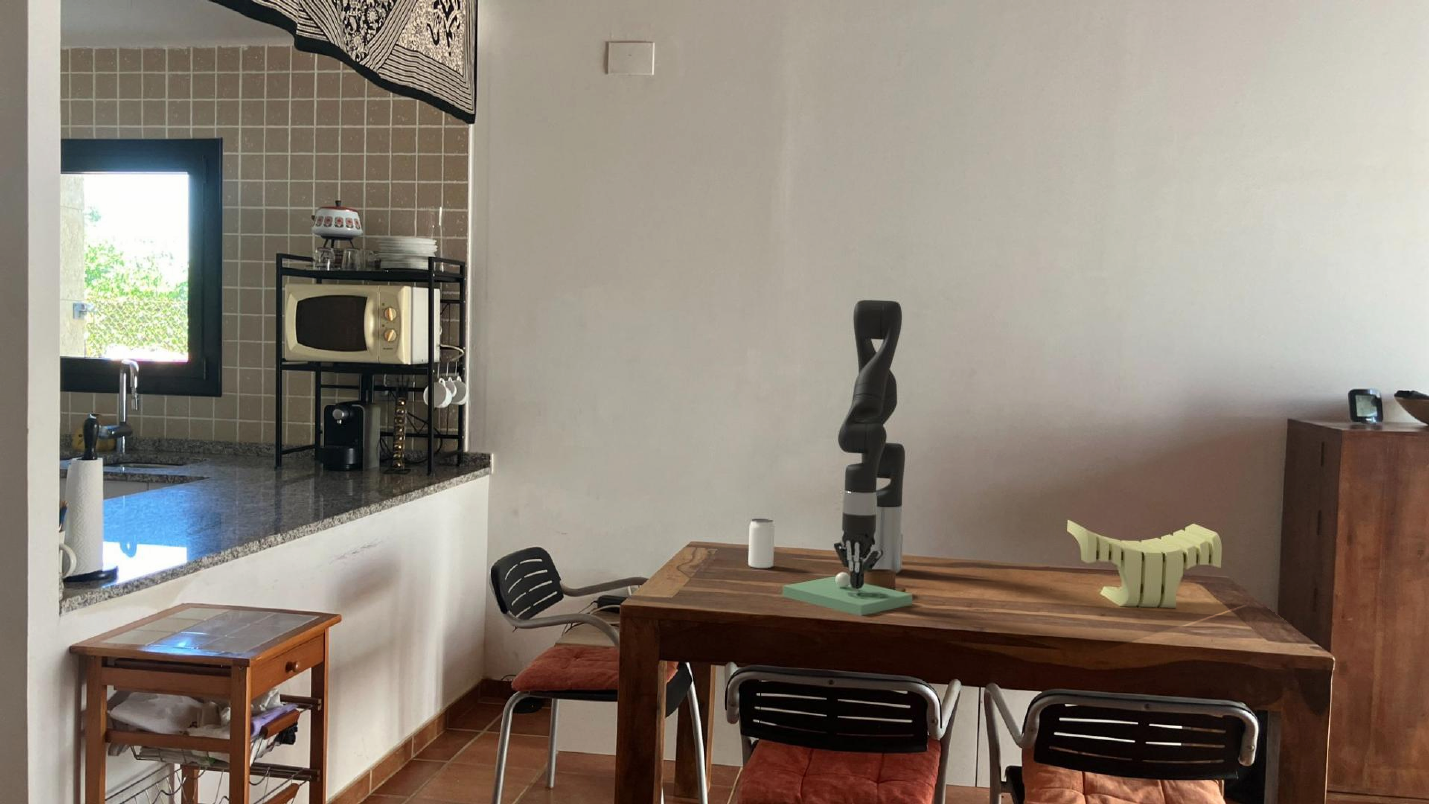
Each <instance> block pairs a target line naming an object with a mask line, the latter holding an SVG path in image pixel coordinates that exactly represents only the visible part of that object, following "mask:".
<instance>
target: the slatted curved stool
mask: <svg viewBox="0 0 1429 804" xmlns="http://www.w3.org/2000/svg"><path fill="white" fill-rule="evenodd" d="M1184 529H1185V530H1183V529H1180V530H1177V531H1174V532H1173V534H1166V535H1163V536H1161V537H1160V538H1159V537H1155V538H1151V539H1143V540H1141V541H1139V540H1125V539H1124V540H1123V539H1122V540H1119V539H1118V538H1110V537H1108V536H1104V535H1100V534H1097V533H1095V532H1093V531H1090V530H1088V529H1087V528H1085V527H1083V526H1081V525H1079V524H1078V523H1076V522H1074V521H1071V520H1070V519H1067V530H1066V531H1067V532H1068V533H1069V534H1071V535H1072V536H1073V537H1074V538H1075V539H1076V540H1077V542H1078V545H1079V548H1080V556H1081V557H1080V558H1081V559H1080V560H1081V561H1083V562H1084V563H1086V564H1091V563H1092V564H1093V563H1096V562H1097V561H1098V562H1107V563H1108V562H1111V563H1113V564H1114V565H1115V566H1116V567H1117V568H1116V569H1117V571H1118V574H1119V576H1120V580H1121V581H1120V582H1121V586H1119V587H1117V586H1106V585H1105V586H1103V588H1102V589H1101V591H1100V593H1099V594H1101V595H1102V596H1103V597H1105V598H1107V599H1108V600H1110V601H1111V602H1113V603H1114V604H1116V605H1118V606H1119V607H1135V608H1136V607H1137V606H1138V607H1139V608H1157V607H1159V608H1163V609H1164V608H1165V609H1167V608H1169V609H1176V608H1177V594H1178V593H1177V592H1178V588H1179V585H1180V582H1181V579H1182V578H1183V575H1184V569H1185V570H1189V569H1190V568H1192V567H1196V566H1197V565H1199V566H1203V565H1205V566H1209V565H1210V566H1212V567H1215V568H1218V569H1219V568H1220V569H1221V568H1222V553H1223V549H1222V548H1223V547H1222V540H1221V537H1220V536H1219V533H1217V532H1216V531H1213V530H1210V529H1208V528H1205V527H1204V526H1201V525H1199V524H1196V523H1192V524H1189V525H1188V526H1186V527H1185V528H1184Z"/></svg>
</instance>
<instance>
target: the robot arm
mask: <svg viewBox="0 0 1429 804" xmlns="http://www.w3.org/2000/svg"><path fill="white" fill-rule="evenodd" d="M902 310H903V309H902V307H901V304H900V303H899V302H898V301H896V300H880V299H879V300H877V299H876V300H875V299H861V300H859V301H858V302H857V303H855V305H854V309H853V331H854V338H855V339H854V340H855V344H856V345H855V346H856V353H857V363H858V364H857V365H858V374H857V377H856V379H855V382H854V386H853V393H852V400H851V404H850V408H849V409H848V412H847V415H846V417H845V419H844V420H843V423H842V424H841V426H840V428H839V431H838V435H837V436H838V437H837V443H838V445H839V448H840V449H841V450H842V451H843V453H849V454H861V462H860V463H859V462H858V463H851V464H849V465H847V466H846V468H845V474H844V493H843V499H842V515H841V516H842V519H841V520H842V522H841V524H842V525H841V530H842V532H843V534H842V537H841V540H840V541H838V542H836V543H834V544H833V548H834V550H835V551H836V553H837V556H838V558H839V559H840V562H841V565H842V566H843V567H844V568H848V570H849V571H850V574H849V576H850V584H851V587H852V588H855V589H860V588H862V586H863V585H864V572H865V571H867V570H871V569H890V570H895V574H899V573H900V571H902V568H903V567H902V565H903V533H902V515H903V513H902V511H903V488H904V487H903V485H904V475H905V473H904V472H905V465H906V464H905V463H906V450H905V447H904V446H903V444H902V443H897V442H887V438H888V437H887V436H888V434H887V431H886V428H885V427H884V425H885V423H886V422H887V421H888V420H889V419H890V417H891V416H892V415H893V413H894V412H895V410H896V409H897V405H898V390H897V389H898V387H897V386H898V385H897V380H896V377H895V375H894V374H893V372H892V370H891V366H892V363H893V360H894V357H895V353H896V350H897V346H898V343H899V339H900V335H901V331H902V326H903V325H902V323H903V321H902V320H903V312H902ZM872 340H882V343H881V345H880V347H879V349H878V351H876V348H875V346H874V343H873V341H872ZM878 479H886V480H887V479H888V480H890V481H889V483H888V484H887V485H885V486H884V487H882V488H879V489H877V480H878Z"/></svg>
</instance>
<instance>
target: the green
mask: <svg viewBox="0 0 1429 804" xmlns="http://www.w3.org/2000/svg"><path fill="white" fill-rule="evenodd" d="M835 579H836V576H829V577H824V578H819V579H812V580H809V581H808V580H807V581H804V582H797V583H792V584H786V585H782V593H781V596H782V597H784V598H787V599H792V600H794V601H801V602H804V603H808V604H813V605H816V606H819V607H824V608H827V609H828V608H829V609H832V610H836V611H840V612H844V613H848V614H852V615H857V616H860V617H861V616H867V615H870V614H874V613H875V614H876V613H879V612H883V611H888V610H889V611H890V610H893V609H897V608H902V607H907V606H911V605H913V595H914V594H912V593H910V592H909V593H907V592H906V591H905V592H900V591H896V590H891V589H887V588H883V587H878V586H873V585H869V584H865V583H864V585H863V586H862V588H860V589H855V588H852V587H851V584H849V586H847V587H845V588H841V587H839V586H838V585H837V584H836V581H835Z"/></svg>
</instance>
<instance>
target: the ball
mask: <svg viewBox="0 0 1429 804" xmlns="http://www.w3.org/2000/svg"><path fill="white" fill-rule="evenodd" d="M835 577H836V579H835V581H836V584H837V585H838V586H839V587H841V588H845V587H847V586H849V584H850V574H848V573H847V572H843V571H841V572H839V573H837V575H836V576H835Z"/></svg>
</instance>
